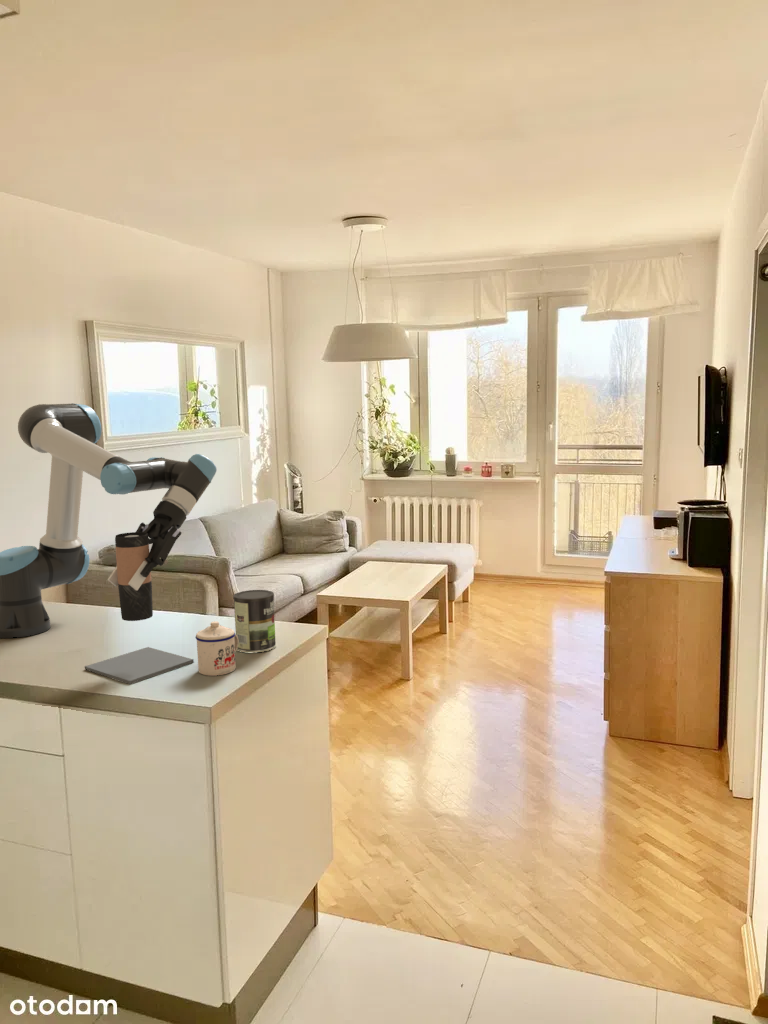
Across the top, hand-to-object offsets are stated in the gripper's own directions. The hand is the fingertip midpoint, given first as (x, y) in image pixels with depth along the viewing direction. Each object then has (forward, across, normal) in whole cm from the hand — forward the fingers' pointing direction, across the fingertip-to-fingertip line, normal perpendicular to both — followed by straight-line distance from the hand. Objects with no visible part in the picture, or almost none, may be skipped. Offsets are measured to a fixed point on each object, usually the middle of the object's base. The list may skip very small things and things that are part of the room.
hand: (122, 584), depth 182 cm
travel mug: (+4, 0, -9) cm, 9 cm away
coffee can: (-6, -13, -36) cm, 38 cm away
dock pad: (+12, 0, -17) cm, 21 cm away
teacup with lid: (+5, -18, -24) cm, 31 cm away
